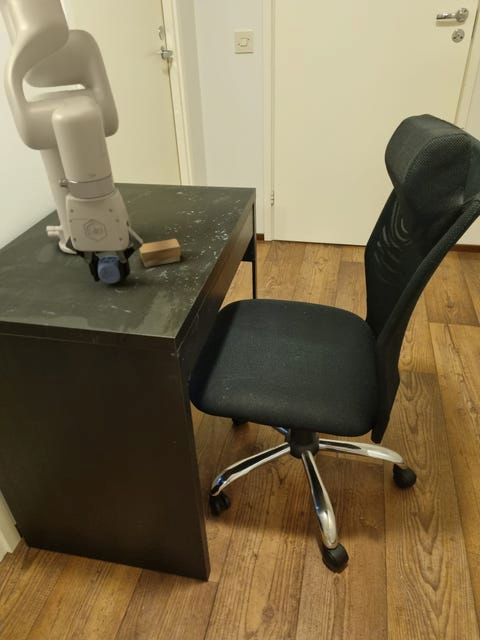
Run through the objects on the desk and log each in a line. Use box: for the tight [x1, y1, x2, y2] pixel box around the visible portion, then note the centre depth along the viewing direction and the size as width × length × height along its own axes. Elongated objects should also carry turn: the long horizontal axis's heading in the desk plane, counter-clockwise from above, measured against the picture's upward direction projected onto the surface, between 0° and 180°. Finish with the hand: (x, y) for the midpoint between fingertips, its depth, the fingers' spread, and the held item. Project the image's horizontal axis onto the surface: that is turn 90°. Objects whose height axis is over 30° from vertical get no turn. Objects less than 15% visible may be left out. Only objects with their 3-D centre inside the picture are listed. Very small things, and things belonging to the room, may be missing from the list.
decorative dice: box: [98, 254, 121, 284], centre depth 90 cm, size 4×4×4 cm
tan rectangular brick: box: [138, 238, 182, 268], centre depth 98 cm, size 8×4×3 cm, turn 108°
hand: (111, 277), depth 90 cm, fingers closed on decorative dice, 4 cm apart
